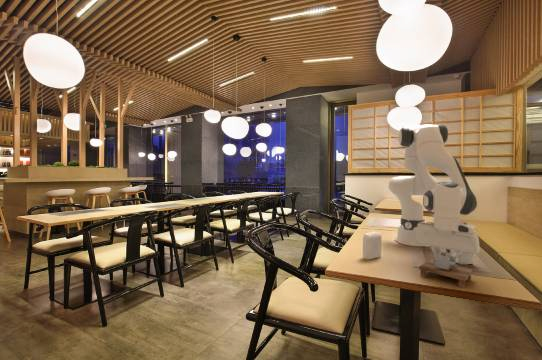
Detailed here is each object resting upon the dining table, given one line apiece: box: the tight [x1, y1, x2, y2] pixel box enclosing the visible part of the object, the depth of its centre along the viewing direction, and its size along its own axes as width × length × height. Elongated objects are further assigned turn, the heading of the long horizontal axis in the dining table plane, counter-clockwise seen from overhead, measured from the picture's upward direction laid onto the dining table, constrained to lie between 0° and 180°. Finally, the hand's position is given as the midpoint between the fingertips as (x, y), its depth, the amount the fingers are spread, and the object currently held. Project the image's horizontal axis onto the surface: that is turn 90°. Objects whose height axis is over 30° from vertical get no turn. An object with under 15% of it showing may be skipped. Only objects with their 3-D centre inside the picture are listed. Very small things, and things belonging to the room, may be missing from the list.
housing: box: [434, 249, 456, 270], centre depth 104 cm, size 4×10×6 cm, turn 133°
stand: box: [418, 259, 474, 289], centre depth 104 cm, size 12×15×4 cm
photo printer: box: [362, 231, 382, 260], centre depth 128 cm, size 10×4×12 cm, turn 123°
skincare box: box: [453, 250, 474, 265], centre depth 123 cm, size 8×6×15 cm
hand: (445, 259), depth 104 cm, fingers closed on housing, 4 cm apart
